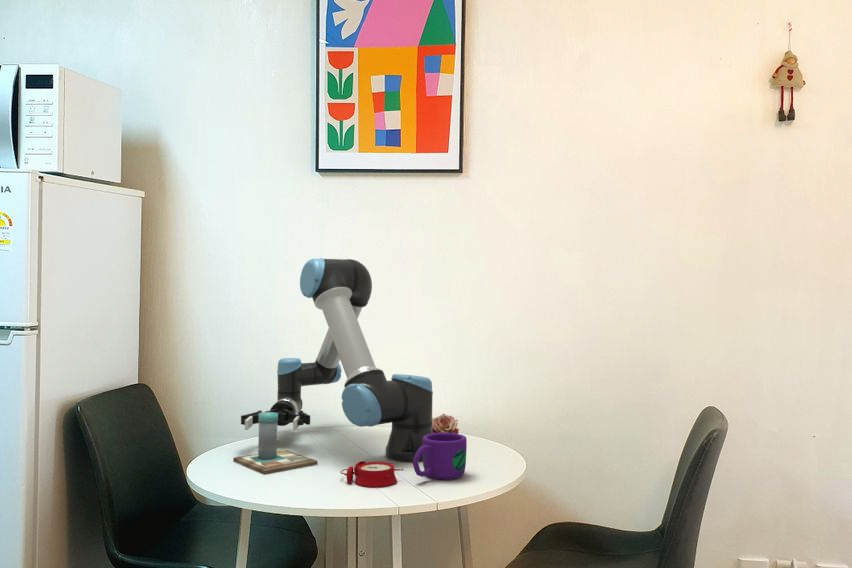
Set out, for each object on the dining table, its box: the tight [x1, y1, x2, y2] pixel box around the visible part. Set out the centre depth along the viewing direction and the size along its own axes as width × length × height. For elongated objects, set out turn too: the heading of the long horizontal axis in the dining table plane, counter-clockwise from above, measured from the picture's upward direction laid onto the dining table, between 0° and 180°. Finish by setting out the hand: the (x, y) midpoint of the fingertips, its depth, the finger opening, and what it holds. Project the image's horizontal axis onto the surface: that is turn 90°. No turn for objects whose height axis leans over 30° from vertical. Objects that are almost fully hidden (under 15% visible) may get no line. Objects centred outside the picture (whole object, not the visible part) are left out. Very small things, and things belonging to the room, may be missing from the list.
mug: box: [412, 433, 468, 481], centre depth 180 cm, size 17×11×10 cm, turn 138°
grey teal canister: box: [257, 411, 278, 459], centre depth 195 cm, size 5×5×12 cm
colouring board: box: [232, 449, 318, 476], centre depth 194 cm, size 18×16×1 cm
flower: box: [432, 413, 460, 434], centre depth 223 cm, size 10×9×8 cm
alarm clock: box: [340, 460, 404, 488], centre depth 176 cm, size 10×6×15 cm
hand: (270, 425), depth 200 cm, fingers open, 13 cm apart
